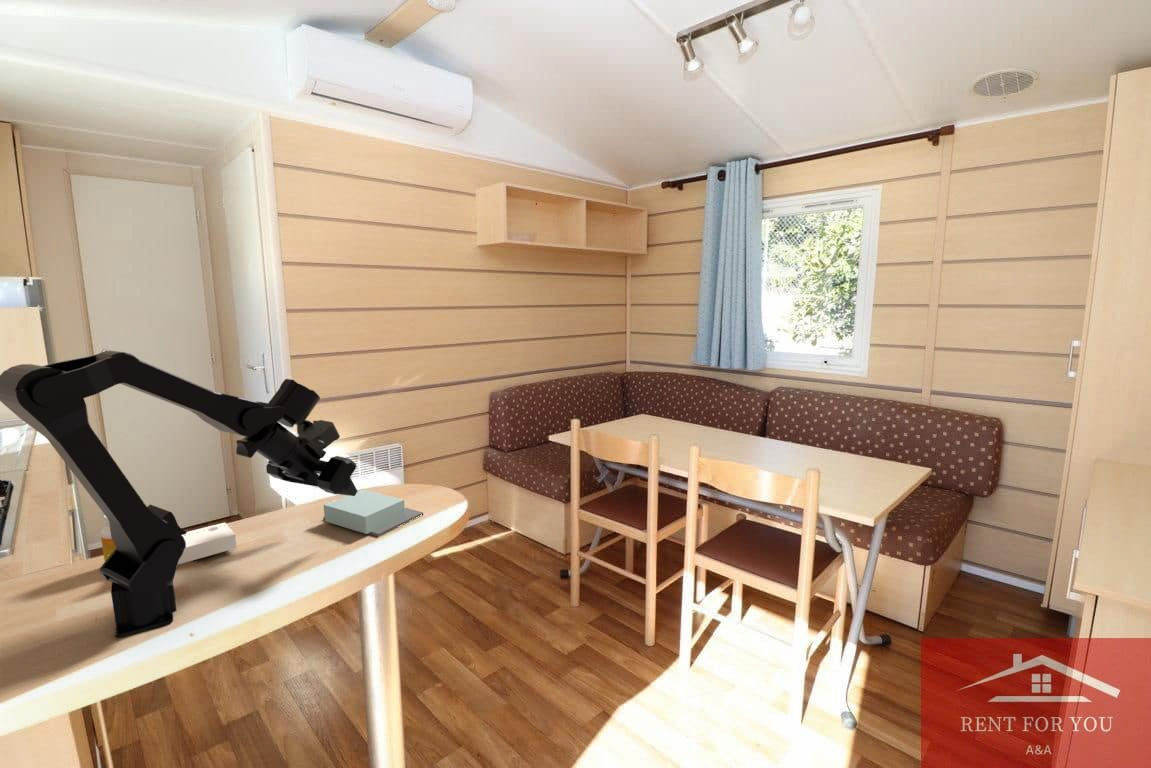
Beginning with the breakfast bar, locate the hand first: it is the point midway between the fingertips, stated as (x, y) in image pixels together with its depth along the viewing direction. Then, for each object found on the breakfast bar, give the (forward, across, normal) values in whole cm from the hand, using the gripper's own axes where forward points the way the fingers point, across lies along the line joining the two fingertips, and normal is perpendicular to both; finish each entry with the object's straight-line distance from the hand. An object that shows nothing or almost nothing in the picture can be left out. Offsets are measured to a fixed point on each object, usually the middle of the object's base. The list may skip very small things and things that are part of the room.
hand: (339, 489), depth 108 cm
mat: (+12, 0, 0) cm, 12 cm away
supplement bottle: (-13, +20, +26) cm, 35 cm away
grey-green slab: (+5, 0, +4) cm, 6 cm away
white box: (-8, +14, +21) cm, 27 cm away
